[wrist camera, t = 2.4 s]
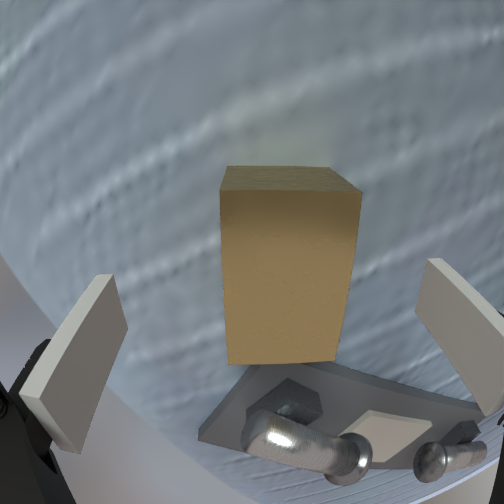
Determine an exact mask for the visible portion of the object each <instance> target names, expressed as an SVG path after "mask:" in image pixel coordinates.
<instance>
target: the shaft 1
mask: <svg viewBox="0 0 504 504" xmlns="http://www.w3.org/2000/svg"><path fill="white" fill-rule="evenodd" d="M322 415H324V414H323V410H322V405H321V401H320V396H319V393H318V392H316V391H314V390H312V389H310V388H308V387H306V386H304V385H301V384H299V383H297V382H295V381H293V380H291V379H289V378H286V379H285V380H283V381H282V382H281V383H280V384H278V385H277V386H276V387H275V388H273V389H272V390H271V391H269V392H268V393H267V394H266V395H264V396H263V397H262V398H260V399H259V400H258V401H256V402H255V403H254V404H252V405H251V406H250V407H248V408H247V409H246V423H245V425H244V427H243V430H242V433H241V438H240V443H241V448H242V450H243V451H244V452H245V453H248V454H251V455H254V456H257V457H261V458H264V459H267V460H271V461H274V462H278V463H282V464H285V465H289V466H293V467H297V468H301V469H305V470H310V471H314V472H319V473H323V474H324V476H325V478H326V479H327V480H328V481H329V482H330V483H332V484H335V485H341V486H347V485H351V484H354V483H356V482H357V481H359V480H360V479H361V478H362V477H363V476H364V475H365V474H366V472H367V471H368V469H369V467H370V465H371V462H372V457H373V450H372V446H371V443H370V442H369V440H368V439H367V438H366V437H365V436H363V435H360V434H357V433H353V432H349V433H344V434H342V435H340V436H338V437H337V436H334V435H331V434H328V433H325V432H322V431H319V430H317V429H314V428H311V427H308V426H307V425H309V424H310V423H312V422H313V421H315V420H316V419H318V418H319V417H321V416H322Z"/></svg>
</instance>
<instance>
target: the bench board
mask: <svg viewBox="0 0 504 504" xmlns="http://www.w3.org/2000/svg"><path fill="white" fill-rule="evenodd" d="M286 378H289V379H291V380H293V381H295V382H297V383H299V384H301V385H304V386H306V387H308V388H310V389H312V390H314V391H316V392H318V393H319V396H320V401H321V405H322V410H323V414H324V415H322V416H321V417H319V418H318V419H316V420H315V421H313V422H312V423H310V424H309V425H307V426H308V427H311V428H314V429H317V430H319V431H322V432H325V433H328V434H331V435H334V436H338V435H339V434H340V433H342V432H343V431H344V430H345V429H347V428H348V427H349V426H350V425H351V424H353V423H354V422H355V421H356V420H357V419H359V418H360V417H361V416H362V415H363V414H364V413H366V412H367V411H368V410H372V411H377V412H382V413H387V414H392V415H398V416H403V417H409V418H415V419H421V420H427V421H431V423H432V425H433V426H431V427H430V428H429V429H428V430H427V431H425V432H424V433H423V434H422V435H420V436H419V437H418V438H417V439H415V440H414V441H413V442H411V443H410V444H409V445H407V446H406V447H405V448H403V449H402V450H401V451H399V452H398V453H397V454H395V455H394V456H392V457H391V458H390V459H388V460H387V461H385V462H371V465H370V467H369V469H413V461H414V457H415V454H416V452H417V451H418V449H419V448H420V447H421V446H422V445H423V444H425V443H427V442H434V441H435V442H439V441H440V440H441V439H442V438H443V437H444V436H445V435H446V434H447V433H448V432H450V431H451V430H452V429H453V428H454V427H455V426H456V425H457V424H458V423H459V422H461V421H470V420H474V421H475V423H476V424H478V423H480V422H481V421H482V420H483V419H484V418H485V417H486V416H484V414H483V412H482V411H481V409H480V407H479V406H478V404H476V403H471V402H467V401H463V400H458V399H454V398H450V397H446V396H442V395H438V394H435V393H431V392H427V391H423V390H420V389H416V388H412V387H409V386H405V385H402V384H398V383H395V382H392V381H388V380H385V379H382V378H378V377H375V376H372V375H369V374H365V373H362V372H359V371H356V370H353V369H350V368H347V367H344V366H341V365H338V364H335V363H332V362H329V361H323V362H307V363H287V364H251V366H250V367H249V368H248V369H247V371H246V372H245V373H244V374H243V376H242V377H241V378H240V380H239V381H238V382H237V383H236V385H235V386H234V387H233V388H232V390H231V391H230V392H229V393H228V395H227V396H226V397H225V398H224V399H223V401H222V402H221V403H220V404H219V406H218V407H217V408H216V409H215V410H214V412H213V413H212V414H211V415H210V416H209V418H208V419H207V420H206V421H205V422H204V424H203V425H202V426H201V427H200V428H199V433H198V440H199V441H202V442H206V443H209V444H213V445H217V446H221V447H225V448H229V449H233V450H237V451H241V452H244V451H243V450H242V448H241V443H240V438H241V433H242V430H243V427H244V425H245V423H246V409H247V408H248V407H250V406H251V405H252V404H254V403H255V402H256V401H258V400H259V399H260V398H262V397H263V396H264V395H266V394H267V393H268V392H269V391H271V390H272V389H273V388H275V387H276V386H277V385H278V384H280V383H281V382H282V381H283V380H285V379H286Z"/></svg>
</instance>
